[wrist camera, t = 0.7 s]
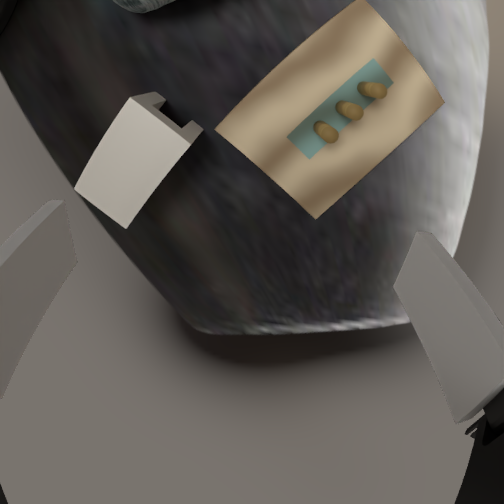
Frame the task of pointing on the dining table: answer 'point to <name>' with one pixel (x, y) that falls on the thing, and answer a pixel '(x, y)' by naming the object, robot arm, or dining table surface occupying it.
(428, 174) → the dining table surface
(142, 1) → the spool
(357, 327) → the dining table surface
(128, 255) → the dining table surface
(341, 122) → the wooden peg board
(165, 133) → the white block
